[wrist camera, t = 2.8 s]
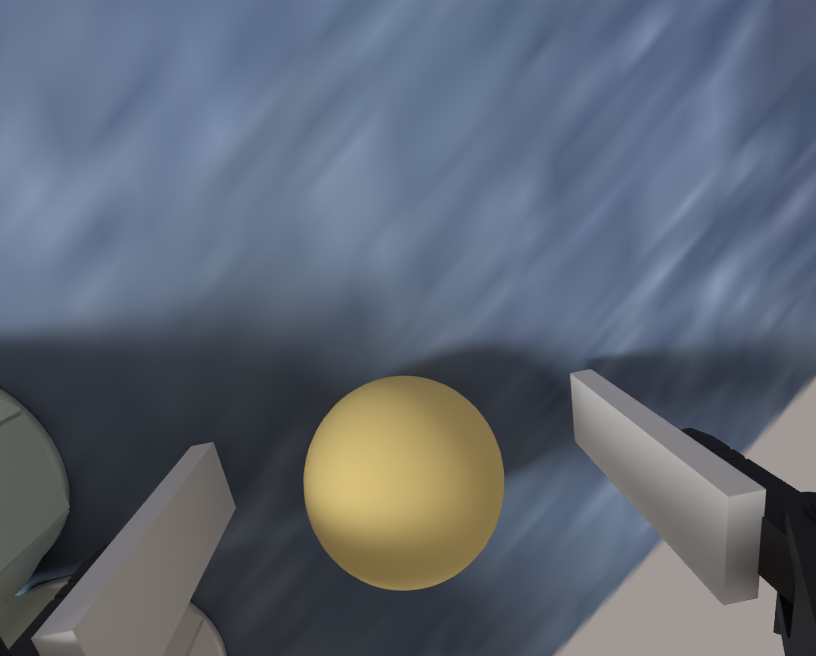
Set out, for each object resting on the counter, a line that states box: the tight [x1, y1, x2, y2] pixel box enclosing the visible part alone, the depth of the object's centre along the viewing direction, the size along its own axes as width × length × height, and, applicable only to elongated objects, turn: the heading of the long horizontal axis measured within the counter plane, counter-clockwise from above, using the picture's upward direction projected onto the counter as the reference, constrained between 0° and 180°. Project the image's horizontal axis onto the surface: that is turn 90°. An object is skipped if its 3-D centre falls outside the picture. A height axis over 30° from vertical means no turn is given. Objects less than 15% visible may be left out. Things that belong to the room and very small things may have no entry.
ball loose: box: [303, 376, 505, 591], centre depth 12 cm, size 6×6×6 cm
